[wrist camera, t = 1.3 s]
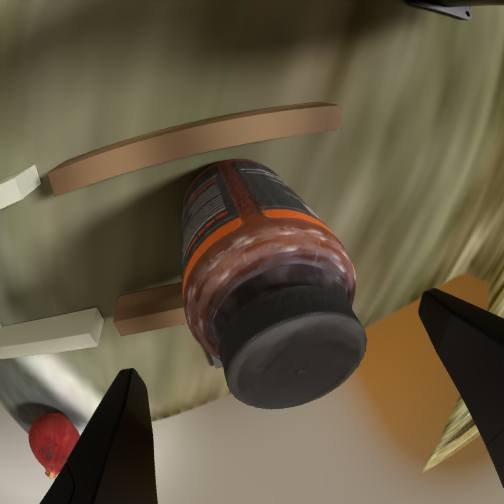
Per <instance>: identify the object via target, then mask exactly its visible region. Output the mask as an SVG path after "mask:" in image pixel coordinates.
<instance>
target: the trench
mask: <svg viewBox="0 0 504 504" xmlns="http://www.w3.org/2000/svg"><path fill="white" fill-rule="evenodd" d="M341 129H342V121H341V109H340V105H336V104H330V103H323V102H313V103H303V104H294V105H286V106H278V107H271V108H264V109H258V110H251V111H245V112H240V113H234V114H229V115H223V116H218V117H213V118H209V119H204V120H199V121H195V122H191V123H186V124H182V125H178V126H174V127H170V128H166V129H162V130H159V131H155V132H151V133H148V134H144V135H141V136H137V137H134V138H131V139H127V140H124V141H121V142H118V143H115V144H111V145H108V146H105V147H102V148H100V149H97V150H94V151H91V152H88V153H85V154H83V155H80V156H77V157H75V158H72V159H69V160H67V161H65V162H63V163H62V164H60V165H59V166H57V167H56V168H55V169H53V170H52V171H50V172H49V173H48V177H49V180H50V183H51V186H52V189H53V192H54V194H55V196H58V195H61V194H63V193H66V192H69V191H72V190H75V189H77V188H80V187H83V186H86V185H89V184H92V183H95V182H98V181H101V180H104V179H107V178H110V177H114V176H117V175H120V174H123V173H127V172H130V171H134V170H137V169H141V168H144V167H148V166H151V165H155V164H159V163H162V162H166V161H170V160H174V159H178V158H182V157H186V156H190V155H195V154H199V153H203V152H208V151H212V150H217V149H222V148H226V147H231V146H236V145H241V144H247V143H252V142H257V141H263V140H269V139H275V138H281V137H287V136H294V135H301V134H308V133H316V132H324V131H332V130H341ZM113 322H114V324H115V326H116V328H117V329H118V331H119V333H120V335H121V336H125V335H130V334H136V333H141V332H146V331H151V330H156V329H161V328H166V327H171V326H176V325H180V324H185V323H187V320H186V316H185V311H184V304H183V292H182V282H180V283H175V284H171V285H167V286H162V287H158V288H154V289H149V290H145V291H140V292H136V293H131V294H127V295H122V296H119V299H118V304H117V308H116V312H115V317H114V321H113Z"/></svg>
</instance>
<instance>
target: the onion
mask: <svg viewBox="0 0 504 504" xmlns="http://www.w3.org/2000/svg"><path fill="white" fill-rule="evenodd" d="M79 437H80V435H79V432H78V431H77V429H76V428H75V426H74V425H73V423H72V422H71V421H70V420H69V419H68V418H67V417H66V416H65V415H64V414H62V413H60V412H55V413H49V414H46V415H43V416H40V417H39V418H37V419H36V420H35V421H34V422H33V424H32V426H31V428H30V430H29V443H30V447H31V449H32V452H33V453H34V455H35V457H36V458H37V460H38V461H39V462H40V463H41V464H42V465H43V466H44V467H45V469H46V472H45V474H46V475H47V476H48V477H49V478H51V479H52V478H55V477H56V475H57V474H58V473H59V472H60V471H61V469H62V467H63V465H64V463H65V462H67V461H66V460H67V458H68V457H69V455H70V453H71V451H72V449H73V448H74V446H75V444H76V443H77V441H78V439H79Z"/></svg>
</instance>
